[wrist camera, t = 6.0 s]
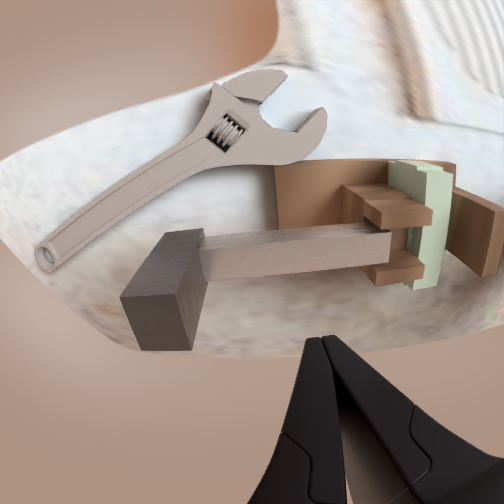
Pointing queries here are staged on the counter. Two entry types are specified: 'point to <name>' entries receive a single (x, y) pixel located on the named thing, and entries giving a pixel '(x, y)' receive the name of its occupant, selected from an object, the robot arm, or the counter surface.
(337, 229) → the shaft
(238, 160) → the adjustable wrench
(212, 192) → the counter surface
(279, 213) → the stand
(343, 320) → the counter surface
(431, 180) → the spacer
